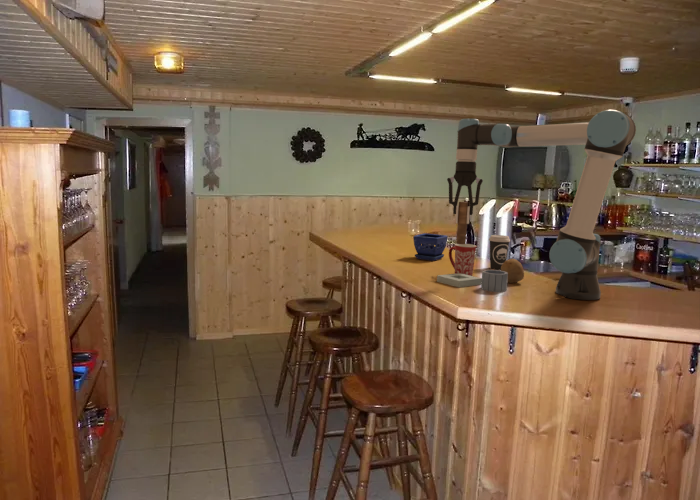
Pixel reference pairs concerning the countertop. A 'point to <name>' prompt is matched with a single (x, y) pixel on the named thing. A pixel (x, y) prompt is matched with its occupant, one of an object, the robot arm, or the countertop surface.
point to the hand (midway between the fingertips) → (462, 223)
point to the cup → (494, 280)
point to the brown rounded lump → (513, 270)
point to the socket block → (459, 280)
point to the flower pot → (430, 246)
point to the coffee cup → (498, 250)
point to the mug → (463, 258)
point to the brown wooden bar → (462, 223)
